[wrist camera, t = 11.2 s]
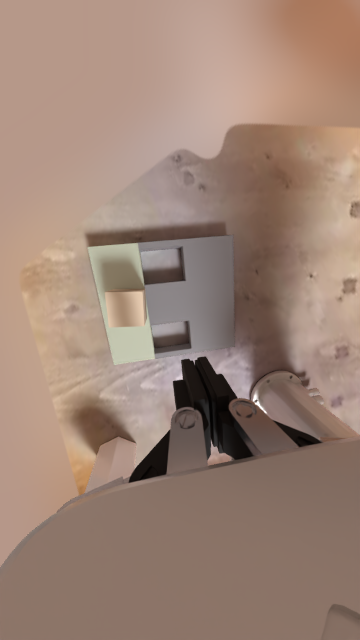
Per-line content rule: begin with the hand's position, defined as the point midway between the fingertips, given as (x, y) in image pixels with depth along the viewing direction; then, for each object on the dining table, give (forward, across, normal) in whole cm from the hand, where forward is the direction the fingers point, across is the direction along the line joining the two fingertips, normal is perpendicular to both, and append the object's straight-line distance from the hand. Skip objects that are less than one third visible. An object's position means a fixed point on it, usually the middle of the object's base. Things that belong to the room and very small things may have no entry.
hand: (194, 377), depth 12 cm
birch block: (+20, +7, -3) cm, 21 cm away
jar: (+22, +15, +31) cm, 41 cm away
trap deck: (+22, 0, -2) cm, 22 cm away
